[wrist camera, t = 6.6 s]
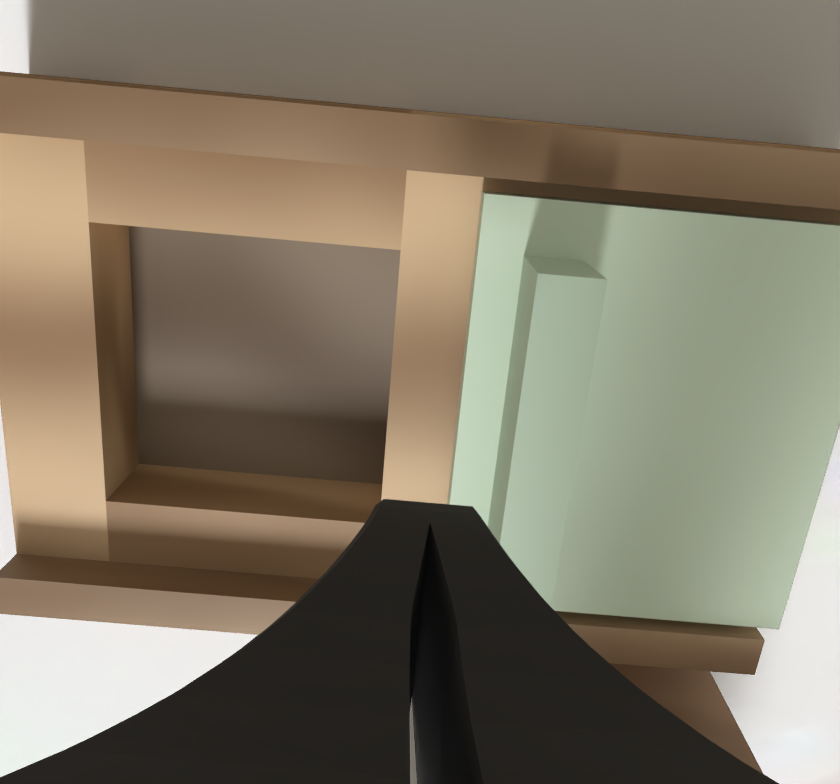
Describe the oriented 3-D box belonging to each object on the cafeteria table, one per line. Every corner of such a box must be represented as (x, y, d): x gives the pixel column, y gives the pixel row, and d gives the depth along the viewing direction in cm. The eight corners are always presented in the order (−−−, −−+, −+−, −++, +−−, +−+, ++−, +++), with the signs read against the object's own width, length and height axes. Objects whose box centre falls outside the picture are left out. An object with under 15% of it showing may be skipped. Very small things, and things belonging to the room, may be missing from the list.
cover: (764, 607, 18) (821, 690, 15) (438, 581, 18) (439, 659, 15) (873, 226, 15) (970, 245, 12) (482, 190, 15) (493, 202, 12)
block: (664, 744, 23) (743, 946, 17) (536, 733, 23) (571, 934, 17) (691, 637, 21) (785, 817, 16) (555, 625, 21) (600, 804, 16)
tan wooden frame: (703, 594, 21) (753, 677, 18) (66, 541, 20) (-2, 617, 17) (815, 150, 17) (906, 154, 14) (27, 77, 16) (-69, 63, 13)
